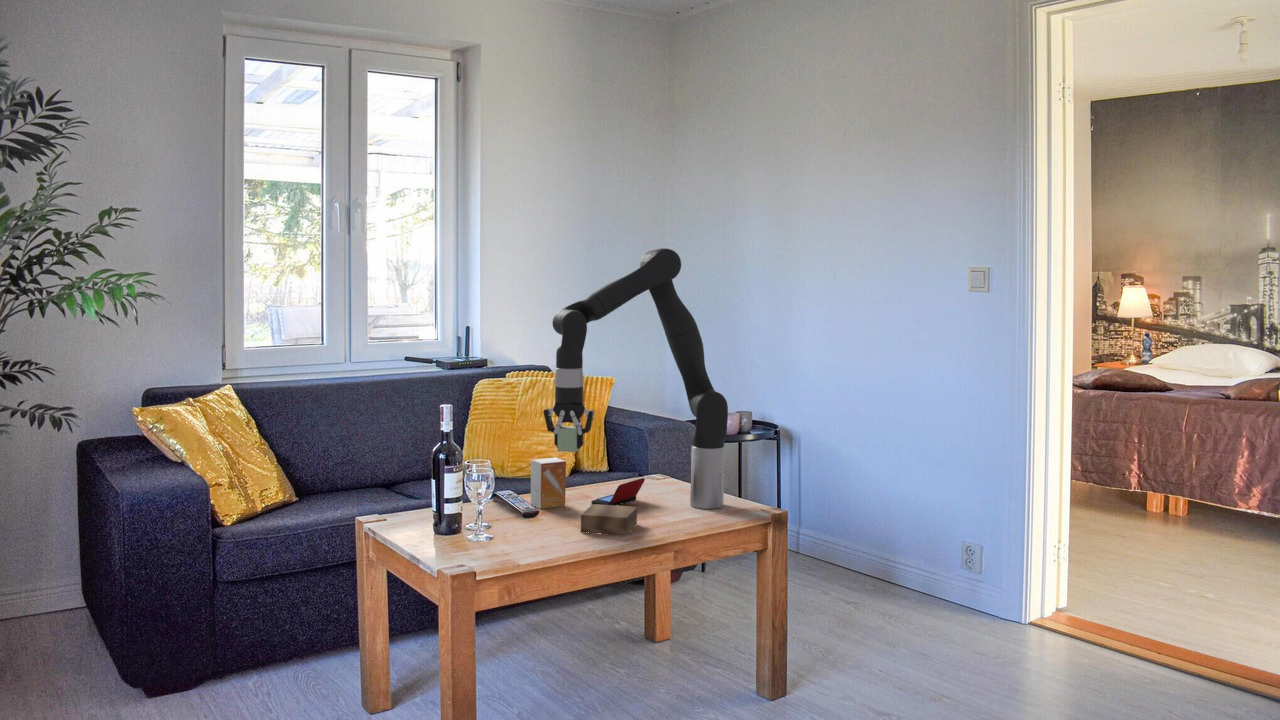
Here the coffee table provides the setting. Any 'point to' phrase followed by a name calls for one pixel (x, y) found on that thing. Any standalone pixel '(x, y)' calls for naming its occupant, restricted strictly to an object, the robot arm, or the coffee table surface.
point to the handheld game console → (622, 494)
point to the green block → (567, 439)
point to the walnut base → (609, 519)
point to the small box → (548, 482)
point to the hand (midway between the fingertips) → (568, 447)
